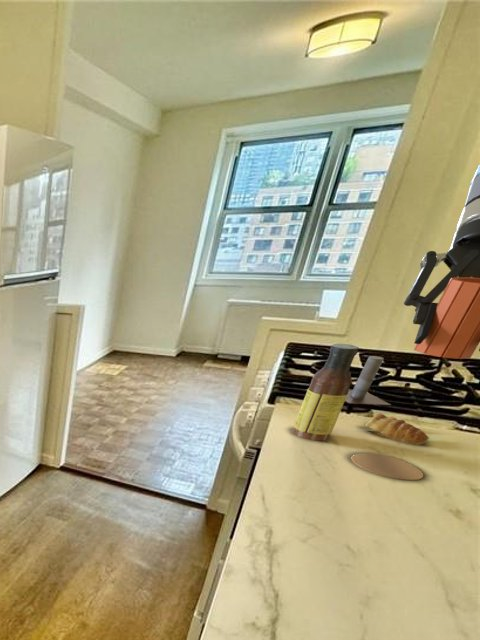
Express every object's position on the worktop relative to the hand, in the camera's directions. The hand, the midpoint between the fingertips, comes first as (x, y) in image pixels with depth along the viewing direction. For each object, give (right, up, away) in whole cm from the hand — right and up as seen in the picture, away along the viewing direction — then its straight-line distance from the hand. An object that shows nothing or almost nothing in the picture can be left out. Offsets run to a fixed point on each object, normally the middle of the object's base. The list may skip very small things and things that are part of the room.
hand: (452, 343), depth 80 cm
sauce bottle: (-3, -15, +24) cm, 29 cm away
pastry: (+14, -15, +24) cm, 31 cm away
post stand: (+22, -6, +39) cm, 45 cm away
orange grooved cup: (+2, -1, +4) cm, 4 cm away
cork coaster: (+1, -21, +12) cm, 25 cm away
